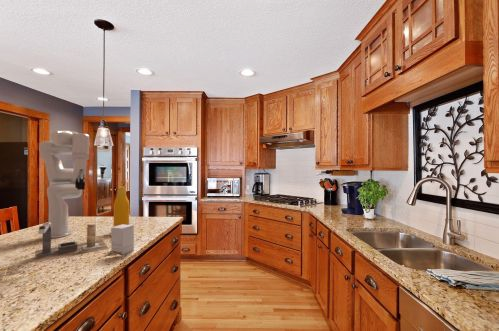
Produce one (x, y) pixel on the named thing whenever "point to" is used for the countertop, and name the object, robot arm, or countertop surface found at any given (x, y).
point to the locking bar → (44, 227)
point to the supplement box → (122, 238)
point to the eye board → (64, 248)
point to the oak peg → (91, 235)
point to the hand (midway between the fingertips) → (79, 188)
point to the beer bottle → (121, 208)
